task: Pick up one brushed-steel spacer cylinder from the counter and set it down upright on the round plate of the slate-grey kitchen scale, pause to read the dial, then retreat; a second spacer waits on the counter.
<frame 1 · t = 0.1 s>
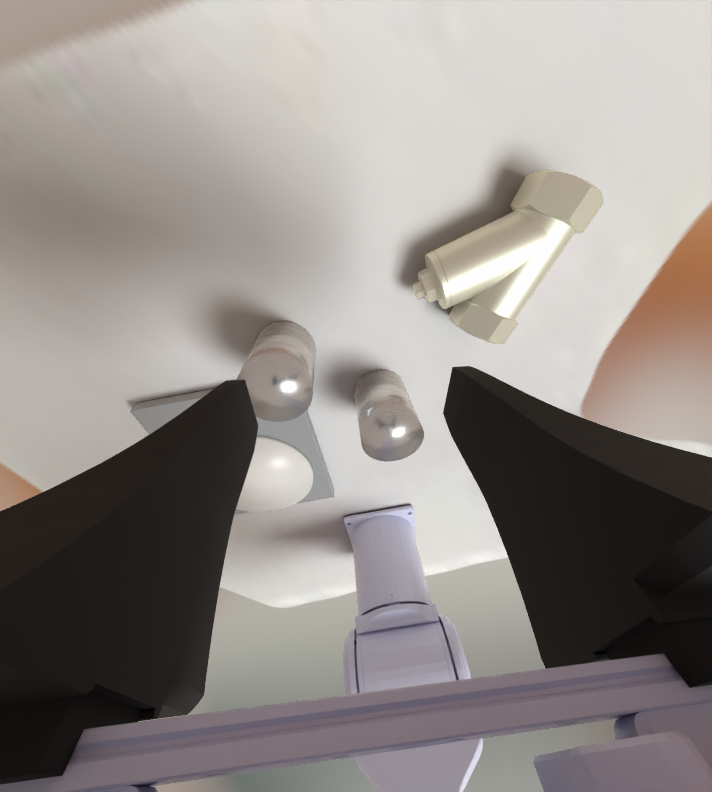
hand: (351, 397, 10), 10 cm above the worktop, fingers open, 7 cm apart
spacer a: (379, 391, 22), on the worktop
pipe fitting: (474, 251, 17), on the worktop
spacer b: (286, 348, 19), on the worktop
scale: (251, 452, 25), on the worktop
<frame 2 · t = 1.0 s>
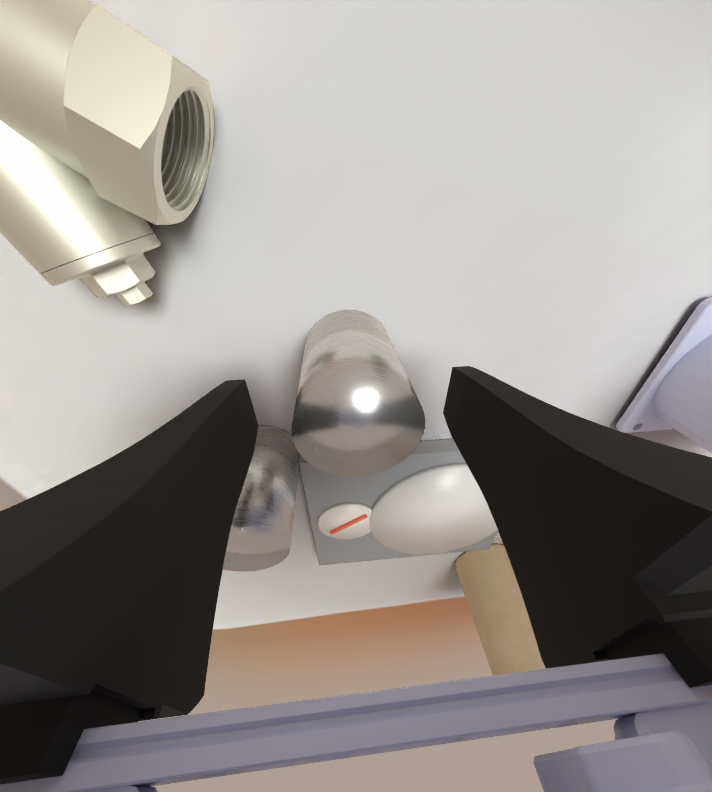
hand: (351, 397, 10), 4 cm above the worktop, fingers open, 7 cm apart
spacer a: (348, 352, 13), on the worktop
candle: (482, 556, 26), on the worktop
pipe fitting: (66, 145, 9), on the worktop
spacer b: (265, 451, 16), on the worktop
scale: (409, 501, 20), on the worktop
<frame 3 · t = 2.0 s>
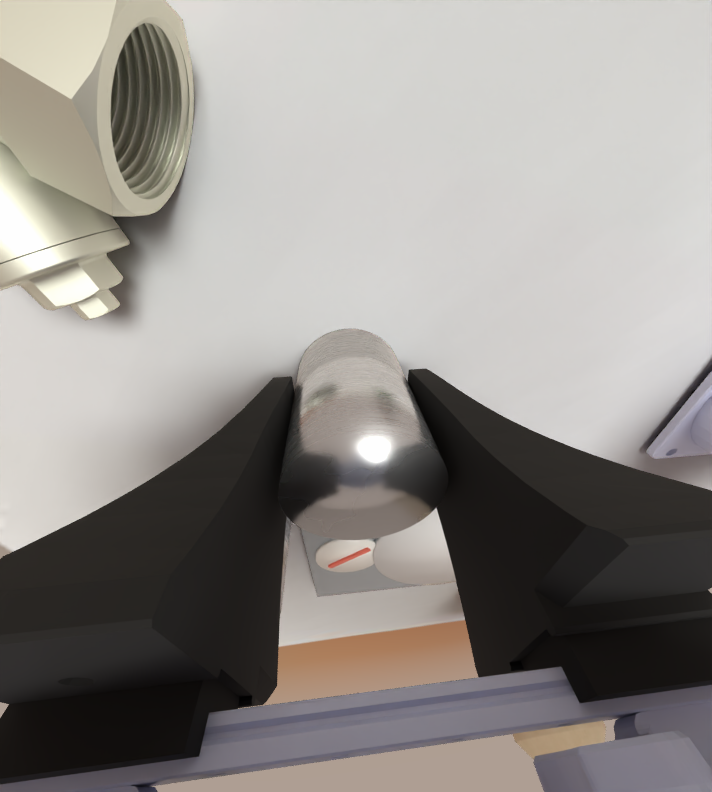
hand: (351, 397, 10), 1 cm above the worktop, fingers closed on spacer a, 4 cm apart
spacer a: (349, 376, 11), on the worktop, touching gripper
candle: (491, 580, 25), on the worktop
pipe fitting: (4, 114, 7), on the worktop
spacer b: (255, 482, 14), on the worktop
scale: (415, 530, 18), on the worktop
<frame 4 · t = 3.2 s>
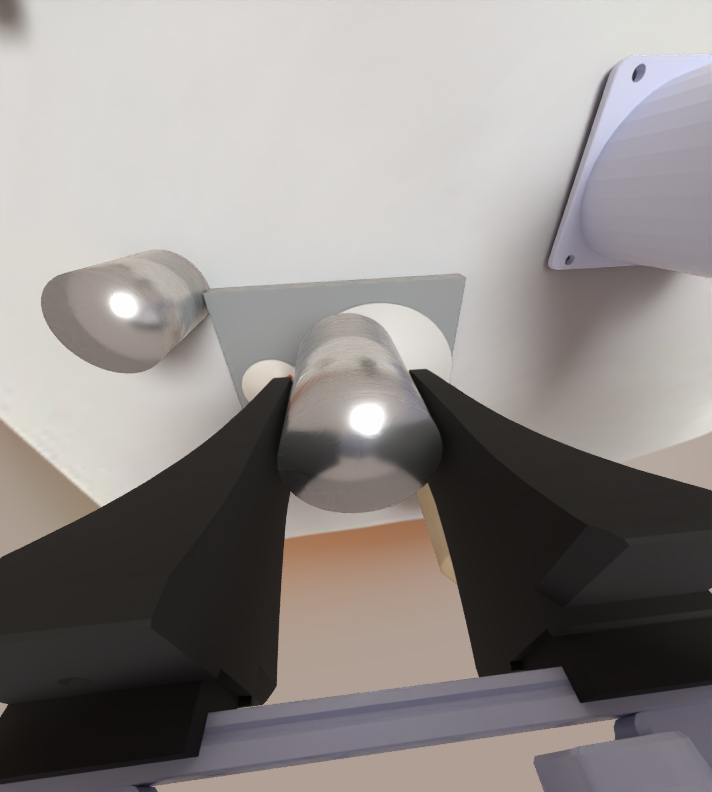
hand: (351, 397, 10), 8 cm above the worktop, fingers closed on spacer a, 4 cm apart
spacer a: (347, 361, 11), point 6 cm above the worktop, touching gripper
candle: (437, 460, 25), on the worktop
spacer b: (172, 290, 15), on the worktop
scale: (343, 373, 19), on the worktop
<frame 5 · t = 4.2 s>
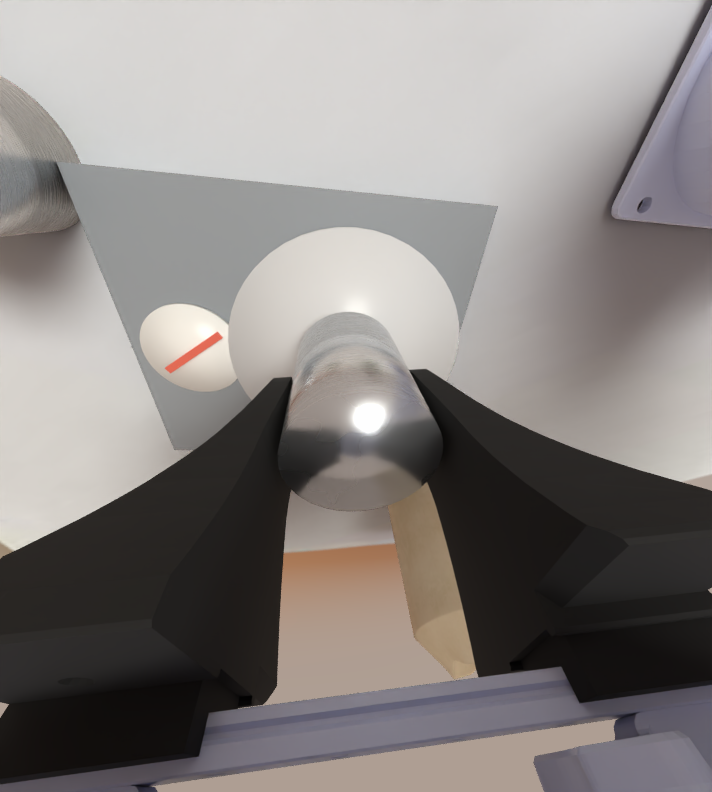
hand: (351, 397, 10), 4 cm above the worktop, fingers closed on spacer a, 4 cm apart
spacer a: (347, 360, 11), point 2 cm above the worktop, touching gripper
candle: (420, 475, 20), on the worktop
spacer b: (12, 158, 9), on the worktop
scale: (304, 344, 13), on the worktop
when the fingers open (4 cm above the worktop, at t = 4.7 s): spacer a stays where it is, resting on scale.
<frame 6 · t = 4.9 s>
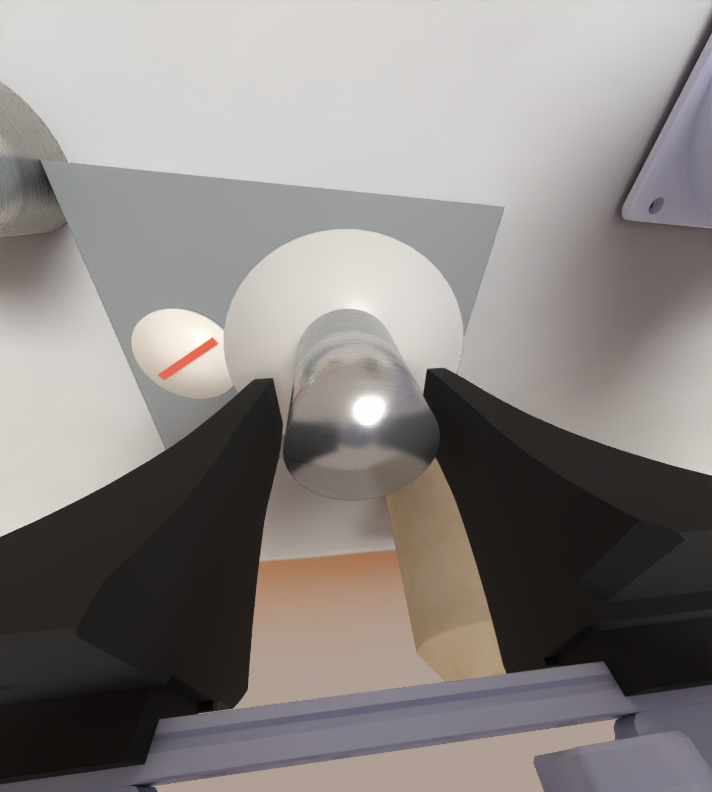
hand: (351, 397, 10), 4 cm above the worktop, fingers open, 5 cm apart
spacer a: (346, 356, 12), point 1 cm above the worktop, touching scale
candle: (422, 481, 20), on the worktop
scale: (302, 349, 13), on the worktop
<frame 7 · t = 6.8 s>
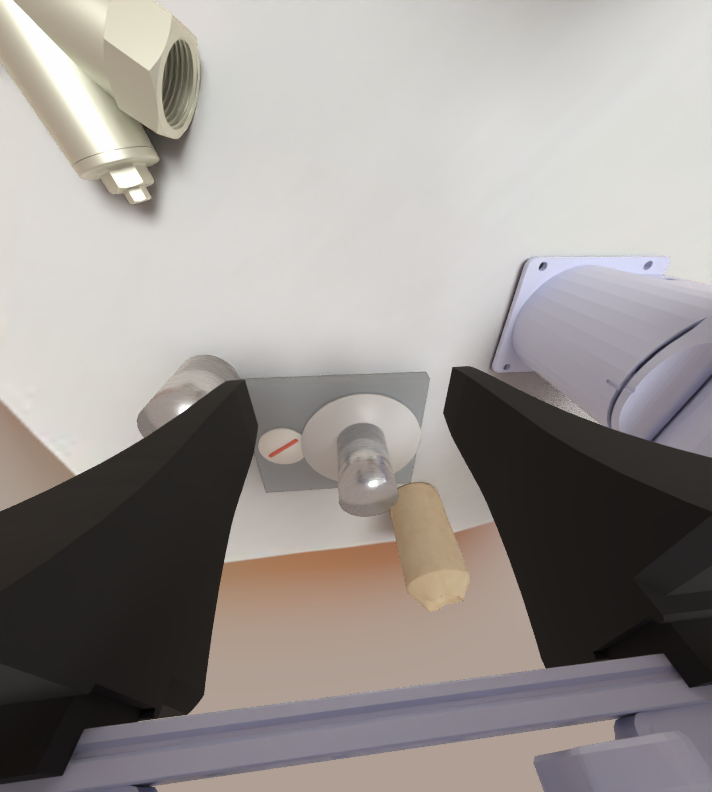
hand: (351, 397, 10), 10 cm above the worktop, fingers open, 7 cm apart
spacer a: (361, 441, 23), point 1 cm above the worktop, touching scale
candle: (412, 496, 31), on the worktop
pipe fitting: (93, 80, 12), on the worktop
spacer b: (210, 379, 20), on the worktop
scale: (337, 434, 24), on the worktop
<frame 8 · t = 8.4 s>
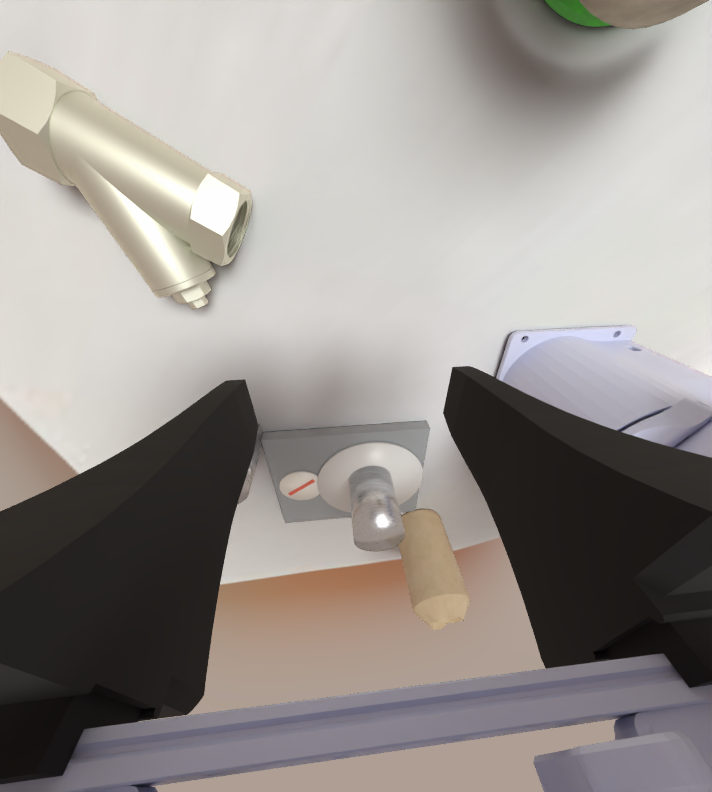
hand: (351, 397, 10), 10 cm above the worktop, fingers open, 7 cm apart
spacer a: (370, 480, 26), point 1 cm above the worktop, touching scale
candle: (417, 520, 34), on the worktop
pipe fitting: (164, 215, 15), on the worktop
spacer b: (239, 433, 23), on the worktop
scale: (348, 472, 27), on the worktop
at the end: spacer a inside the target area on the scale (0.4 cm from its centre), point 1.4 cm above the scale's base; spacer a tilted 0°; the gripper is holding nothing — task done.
